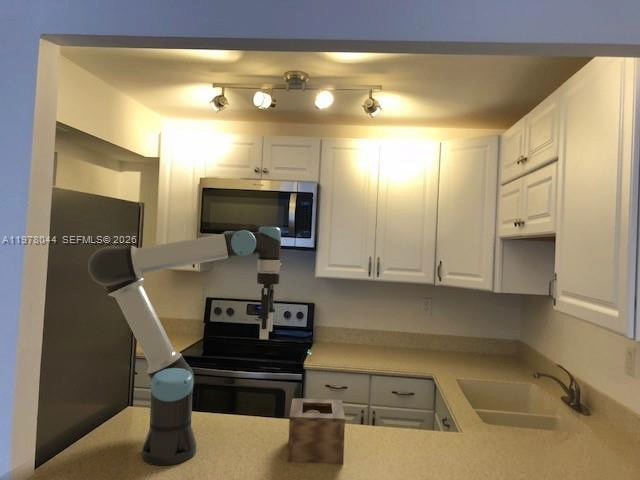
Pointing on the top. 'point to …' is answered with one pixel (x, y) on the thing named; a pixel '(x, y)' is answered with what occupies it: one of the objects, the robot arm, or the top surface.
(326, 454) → the walnut box
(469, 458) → the top surface
